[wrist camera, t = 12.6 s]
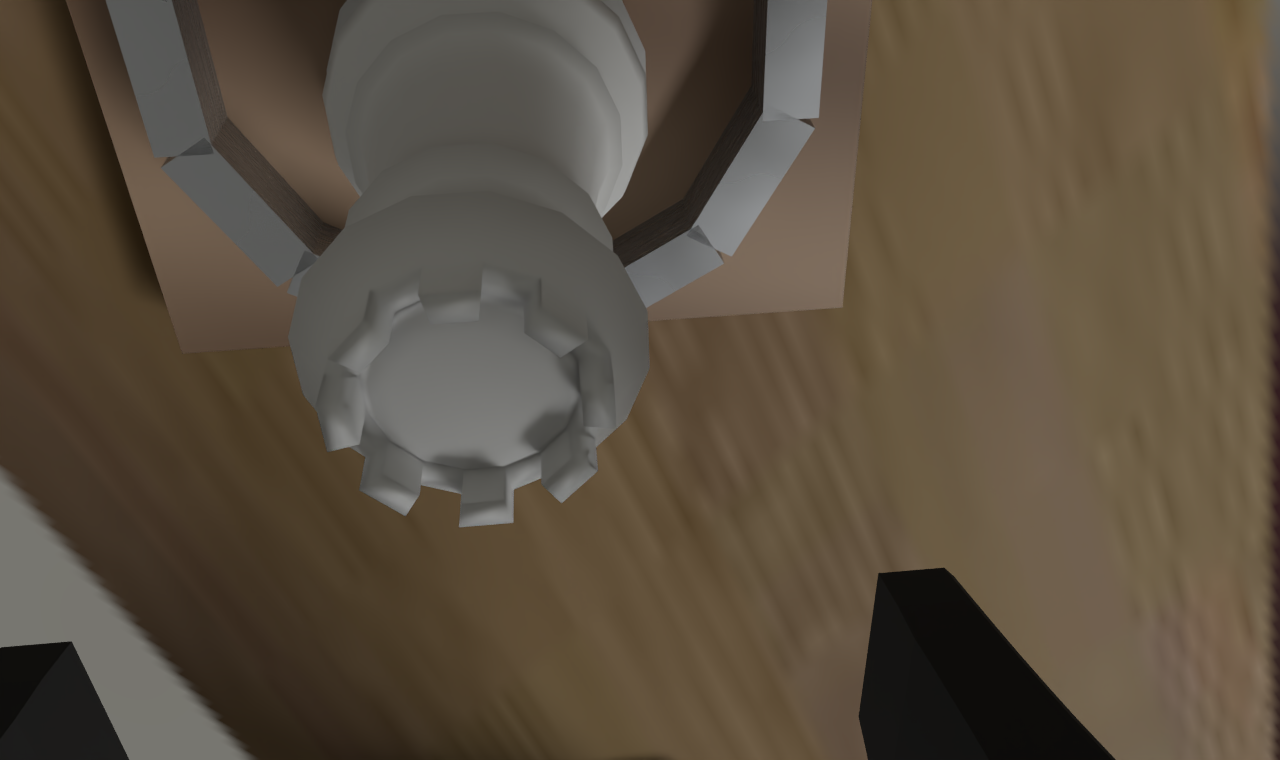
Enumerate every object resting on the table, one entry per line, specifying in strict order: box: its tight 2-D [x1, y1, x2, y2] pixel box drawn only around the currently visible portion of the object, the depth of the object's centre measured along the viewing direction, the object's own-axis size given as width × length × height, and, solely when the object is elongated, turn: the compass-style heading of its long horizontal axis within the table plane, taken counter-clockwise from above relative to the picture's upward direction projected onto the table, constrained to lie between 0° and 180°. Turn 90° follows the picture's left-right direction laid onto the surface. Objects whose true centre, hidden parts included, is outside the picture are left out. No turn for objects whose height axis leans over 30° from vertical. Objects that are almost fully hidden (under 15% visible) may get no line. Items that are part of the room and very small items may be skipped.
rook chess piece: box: [288, 0, 649, 527], centre depth 12 cm, size 4×4×8 cm
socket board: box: [66, 0, 872, 354], centre depth 15 cm, size 10×11×2 cm
